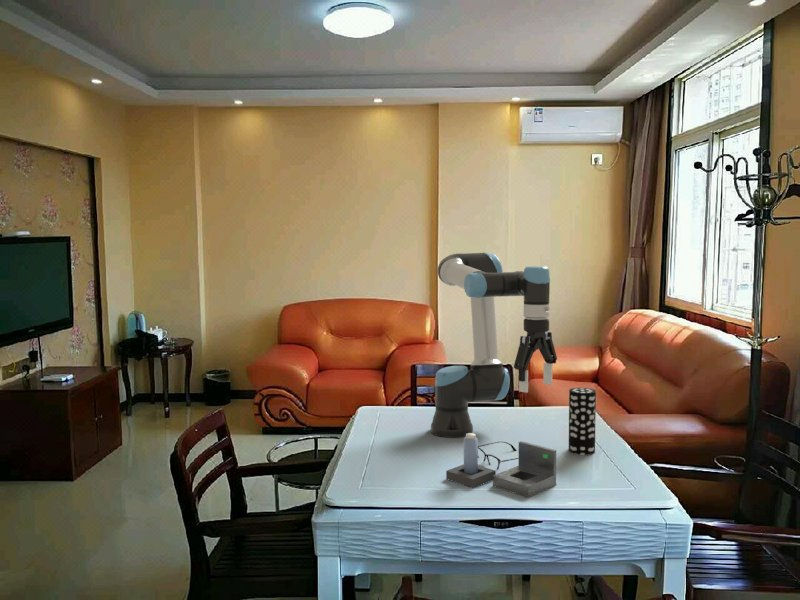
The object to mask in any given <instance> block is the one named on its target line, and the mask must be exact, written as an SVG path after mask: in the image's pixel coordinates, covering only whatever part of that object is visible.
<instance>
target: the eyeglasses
mask: <svg viewBox="0 0 800 600" xmlns="http://www.w3.org/2000/svg"><path fill="white" fill-rule="evenodd" d="M497 443H500V441H496V442H490V443H486V444H481V445H478V450H479V451H481V452H482V453H483V456H484V457H483V458H484V459H483V462H486V460H487V462H488V465H489V466H491V463H490V458H489V457H492V458H495V459H496V460H497V468H496V470H499V468H500V466H501V464H500V463H505V462H509V461H515V460H519V457H517V458H510V459H504V460H501V459H500V458H498V457H497V456H495V455H493V454H486V452H485V451H484V450H483V449H482V448H481V447H484V446H489V445H493V444H497ZM502 443H504V444H506V445H509V446H510V447H511V449H512V450H513V451H514V452H517V449H516V448H515V447H514V445H513V444H511V443H509V442H506V441H502ZM479 458H480V457H479V456H478V459H479Z"/></svg>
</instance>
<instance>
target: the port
mask: <svg viewBox="0 0 800 600" xmlns="http://www.w3.org/2000/svg"><path fill="white" fill-rule="evenodd" d="M518 458H519V459H518V465H515V466H514V467H512V468H509V469H506V470H503V471H502V472H498V473H495V475H493V480H492V487H494V486H496V487H495V488H497V487H499V488H498V489H500V488H502V489H501V490H503V489H505V490H504V491H506V490H508V491H507V492H509V491H511V492H510V493H512V492H514V493H513V494H515V493H516V494H515V495H519V496H522V497H525V498H528V499H529V498H530V497H533V496H536V495H537V494H539V492H540V493H542V492H543V491H546V490H548V489H551V488H553V487H555V486H556V485H557V449H552V448H549V447H545V446H541V445H537V444H533V443H530V442H525V441H522V440H520V441H518Z"/></svg>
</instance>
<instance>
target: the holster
mask: <svg viewBox="0 0 800 600" xmlns="http://www.w3.org/2000/svg"><path fill="white" fill-rule="evenodd" d="M445 474H446V477H445V479H446V480H448V479H449V480H448V481H451V480H452V481H451V482H453V481H455V482H454V483H456V482H458V483H457V484H459V483H461V484H460V485H462V484H464V485H463V486H465V485H466V487H468V486H469V487H468V488H471V487H472V488H471V489H474V488H477V487H479V486H481V484H482V485H484V484H487V483H489V482H491V480H492V481H493V475H496V470H495V469H492V468H489V467H485V466H481V465H479V464H478V473H477V474H474V475H469V474H466V473H464V463H463V464H461V465H458V466H455V467H453V468H450V469H447V470H446V471H445ZM488 481H489V482H488ZM486 482H487V483H486ZM483 483H484V484H483ZM478 485H479V486H478ZM476 486H477V487H476ZM473 487H474V488H473Z"/></svg>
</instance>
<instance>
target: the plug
mask: <svg viewBox="0 0 800 600" xmlns="http://www.w3.org/2000/svg"><path fill="white" fill-rule="evenodd" d="M476 436H477V435H476V433H474V432H473V433H467V434H466V436H463V464H464V473H466V474H469V475H474V474H477V473H478V465H479V458H478V457H479V454H478V453H479V449H478V446H479V444H478V443H479V441H478V440H479V438H478V437H476Z"/></svg>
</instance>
